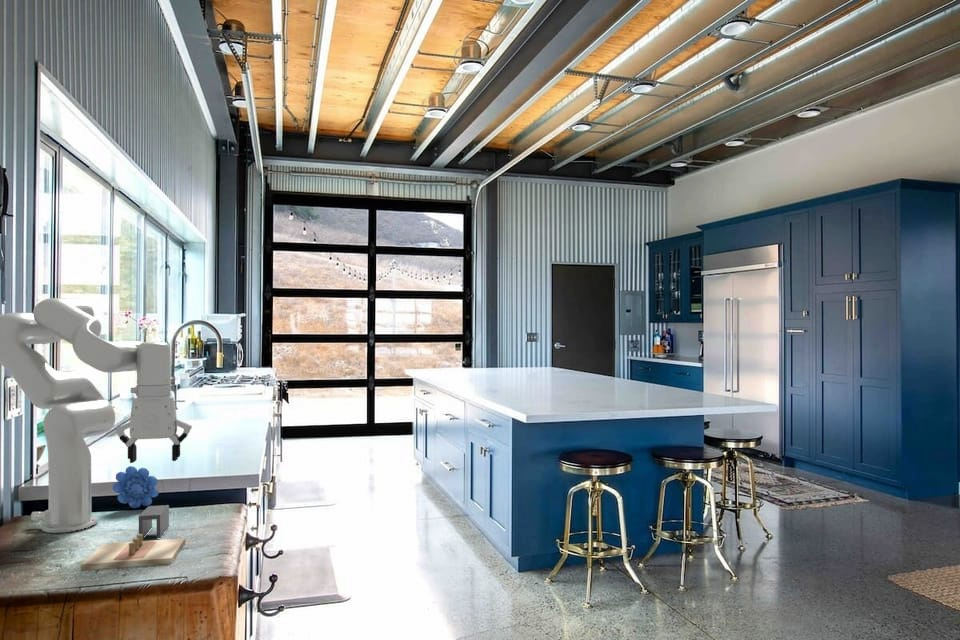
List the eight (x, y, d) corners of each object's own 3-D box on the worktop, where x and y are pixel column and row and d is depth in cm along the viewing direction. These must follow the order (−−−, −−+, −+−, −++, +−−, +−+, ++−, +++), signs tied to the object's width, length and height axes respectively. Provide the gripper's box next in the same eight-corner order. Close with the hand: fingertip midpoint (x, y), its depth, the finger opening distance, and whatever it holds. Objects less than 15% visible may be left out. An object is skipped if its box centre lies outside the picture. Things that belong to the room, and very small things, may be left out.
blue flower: (112, 514, 187) (112, 470, 187) (112, 508, 193) (112, 466, 193) (159, 508, 193) (159, 466, 193) (157, 503, 199) (157, 461, 199)
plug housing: (138, 541, 165) (138, 516, 165) (148, 529, 174) (148, 506, 174) (160, 539, 166) (160, 514, 166) (169, 528, 175) (168, 505, 175)
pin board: (80, 570, 145) (80, 552, 145) (102, 548, 159) (102, 532, 159) (171, 563, 149) (171, 546, 149) (185, 543, 163) (185, 527, 163)
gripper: (111, 394, 164) (111, 465, 164) (187, 392, 168) (188, 462, 168) (120, 391, 172) (121, 459, 171) (194, 389, 175) (194, 456, 175)
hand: (154, 461), depth 170 cm, fingers open, 9 cm apart
